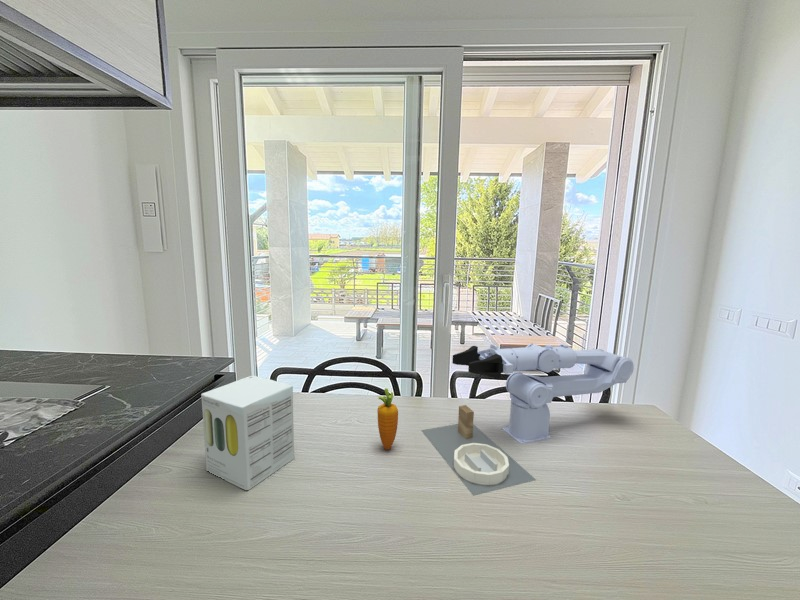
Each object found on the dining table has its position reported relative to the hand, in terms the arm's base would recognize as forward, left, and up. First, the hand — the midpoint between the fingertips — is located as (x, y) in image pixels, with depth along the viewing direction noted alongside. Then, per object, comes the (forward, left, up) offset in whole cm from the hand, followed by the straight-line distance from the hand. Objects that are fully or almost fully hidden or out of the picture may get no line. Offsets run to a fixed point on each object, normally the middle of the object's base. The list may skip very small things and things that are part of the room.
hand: (460, 363), depth 82 cm
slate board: (-2, +4, -21) cm, 21 cm away
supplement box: (+47, -8, -21) cm, 52 cm away
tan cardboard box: (-4, -4, -21) cm, 21 cm away
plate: (0, +10, -21) cm, 23 cm away
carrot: (+17, -4, -21) cm, 27 cm away
